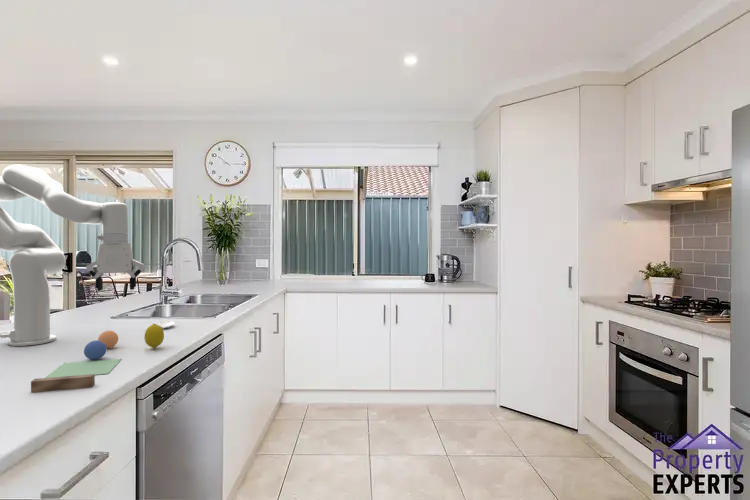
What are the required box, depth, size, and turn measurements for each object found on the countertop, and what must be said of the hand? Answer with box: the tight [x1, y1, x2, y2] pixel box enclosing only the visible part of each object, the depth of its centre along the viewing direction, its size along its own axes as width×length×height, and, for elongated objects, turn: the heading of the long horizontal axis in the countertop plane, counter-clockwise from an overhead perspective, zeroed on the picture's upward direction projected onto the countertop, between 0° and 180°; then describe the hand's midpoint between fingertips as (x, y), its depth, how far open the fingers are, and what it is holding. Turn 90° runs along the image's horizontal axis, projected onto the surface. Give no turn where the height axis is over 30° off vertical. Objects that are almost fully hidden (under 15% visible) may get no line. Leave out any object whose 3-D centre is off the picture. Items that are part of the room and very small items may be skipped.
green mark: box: [44, 358, 122, 378], centre depth 116 cm, size 14×14×1 cm
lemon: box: [144, 323, 165, 349], centre depth 137 cm, size 6×6×8 cm
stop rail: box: [30, 374, 96, 393], centre depth 100 cm, size 12×2×2 cm, turn 109°
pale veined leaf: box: [155, 318, 175, 330], centre depth 170 cm, size 8×12×2 cm, turn 22°
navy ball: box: [83, 340, 108, 361], centre depth 124 cm, size 6×6×6 cm
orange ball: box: [97, 330, 119, 349], centre depth 137 cm, size 6×6×6 cm
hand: (116, 289), depth 145 cm, fingers open, 9 cm apart
